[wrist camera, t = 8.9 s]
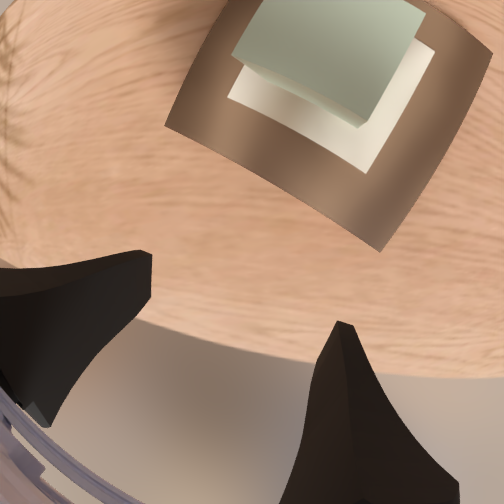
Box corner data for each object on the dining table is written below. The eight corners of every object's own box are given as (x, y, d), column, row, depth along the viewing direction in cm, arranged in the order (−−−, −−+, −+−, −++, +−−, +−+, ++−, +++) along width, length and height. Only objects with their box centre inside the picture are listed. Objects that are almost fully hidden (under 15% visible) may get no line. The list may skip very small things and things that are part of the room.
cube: (400, 51, 10) (426, 13, 5) (357, 128, 12) (367, 121, 8) (310, 7, 10) (294, -43, 6) (266, 81, 12) (230, 54, 8)
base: (473, 63, 10) (494, 52, 7) (374, 234, 17) (380, 254, 14) (281, -35, 11) (270, -59, 8) (188, 126, 18) (162, 125, 15)
